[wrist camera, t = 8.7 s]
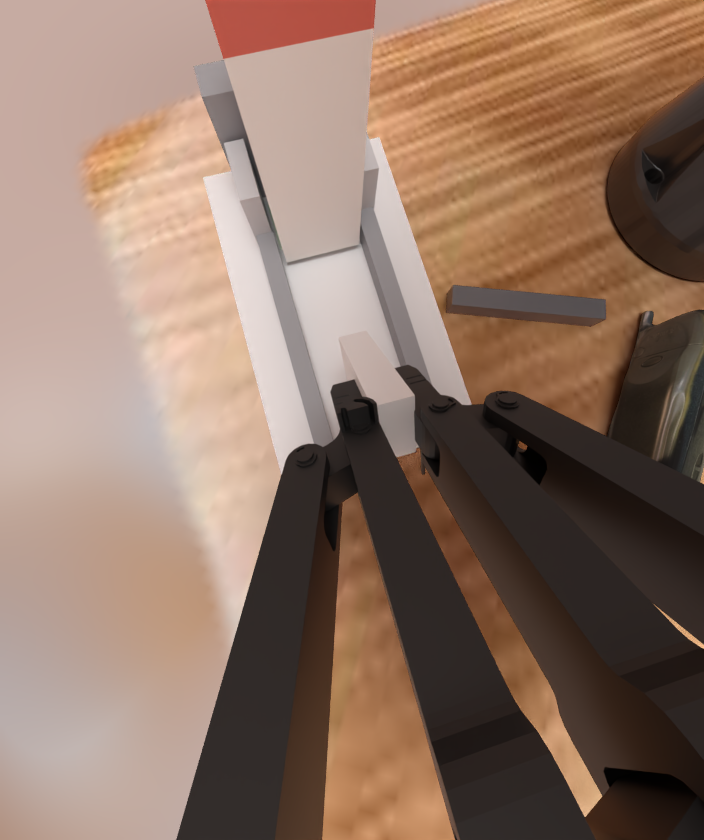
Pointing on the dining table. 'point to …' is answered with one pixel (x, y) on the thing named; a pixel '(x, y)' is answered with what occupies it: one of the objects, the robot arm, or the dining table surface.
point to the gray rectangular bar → (525, 306)
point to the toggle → (303, 110)
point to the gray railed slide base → (319, 287)
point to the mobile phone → (665, 394)
